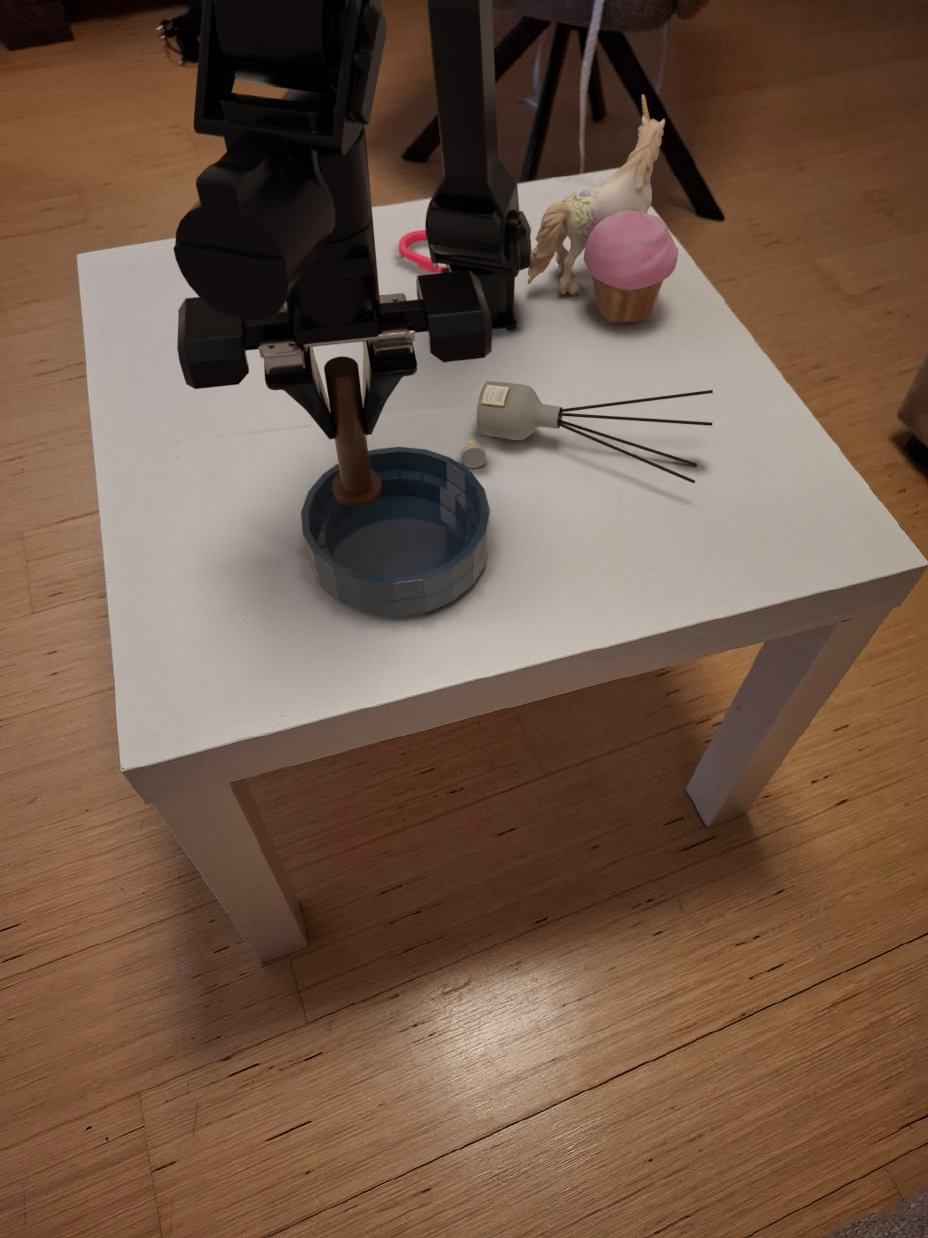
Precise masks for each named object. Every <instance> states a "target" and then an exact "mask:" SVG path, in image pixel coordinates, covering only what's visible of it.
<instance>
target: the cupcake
mask: <svg viewBox="0 0 928 1238" xmlns="http://www.w3.org/2000/svg"><path fill="white" fill-rule="evenodd" d="M583 251H584V253H583V261H584V264H585V266H586V268H587V270H588V273H589V274H590V275H591V278H592V279H591V280H592V286H593V287H592V288H593V294H594V303H595V306H596V307H597V308H598V309H599V310H600V313H601V314H602V316H603V317H604V318H605V319H606V321H607V322H609V323H612V324H625V323H627V324H628V323H636V322H637V323H638V322H643V321H647V320H648V319H649V317H650V316H651V314H652V312H653V310H654V308H655V305H656V303H657V300H658V298H659V294H660V292H661V288H662V285H663V282H664V281H665V280H667V279H668V278H669V277H670V276H671V275H672V274H673V272H674V271H675V269H676V267H677V263H678V259H679V249H678V246H677V244H676V242H675V240H674V239H673V236H672V235H671V233H670V232H669V229H668V226H667V224H666V223H664V221H663V220H662V219H661V218H660V217H658V216H656V215H653V214H649V213H648V214H646V213H642V212H638V211H631V210H626V211H621V212H618V213H616V214H613V215H610V216H608V217H606V218H605V219H603V220H602V221H601V222H599V223H598V224H597V225H596V226H595V228H594V229H593V230H592V232H591V233H590V235H589V237H588V239H587V242H586V246H585V248H584V250H583Z"/></svg>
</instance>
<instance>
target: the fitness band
mask: <svg viewBox="0 0 928 1238" xmlns="http://www.w3.org/2000/svg"><path fill="white" fill-rule="evenodd" d="M421 241H427V237H426V230H425V229H419V230H413V231H410V232H407V233H406V234H404V235H403V236H402V237H401V238H400V239H399V242H398V248H399V252H400V254H401V255H402V256H403V257H402V260H403V261H405V262H407V263H409V264H412V265H414V266H416V267H418V268H421V269H423V270H425V271H428V272H433V273H437V274H438V273H441V269H442V268H446V265H443V266H439V263H438V264H434V263H432V261H431V257H428V256H426V255H422V254H420V253H417V252H415V251H412V250H411V249H410V248H408V246H409V245H411V244H413V243H415V242H421Z"/></svg>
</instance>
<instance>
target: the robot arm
mask: <svg viewBox="0 0 928 1238" xmlns="http://www.w3.org/2000/svg"><path fill="white" fill-rule="evenodd" d="M425 3H426V10H427V12H426V13H427V23H428V31H429V42H430V43H429V44H430V53H431V62H432V71H433V72H432V73H433V81H434V92H435V103H436V112H437V121H438V131H439V132H438V133H439V141H440V153H441V162H442V172H441V175H440V177H439V180H438V182H437V184H436V186H435V189H434V192H433V194H432V196H431V199H430V200H429V203H428V206H427V209H426V214H425V225H424V227H425V228H424V230H426V237H427V240H426V242H427V246H428V247H427V248H428V251H429V256H430V258H431V261H432V263H434V264H438V265H439V264H440V265H445V266H446V268H442V269H441V273H438V272H437V273H430V274H429V273H427V274H420V275H419V274H418V275H416V280H415V284H416V285H415V286H416V297H417V299H410V300H407V298H406V294H405V293H403V292H402V293H401V292H399V293H391V294H380V285H379V275H378V273H379V272H378V262H377V261H378V260H377V250H376V240H375V230H374V228H375V227H374V219H373V218H374V217H373V205H372V192H371V184H370V183H371V182H370V170H369V160H368V159H369V158H368V148H367V136H366V127H365V125H366V126H369V125H370V120H371V115H372V110H373V105H374V99H375V96H376V95H375V94H376V89H377V83H378V80H379V79H378V78H379V74H380V69H381V65H382V58H383V52H384V48H385V44H386V43H385V42H386V37H387V20H386V17H385V15H384V14H383V6H382V1H381V0H202V4H201V5H202V6H201V20H200V31H199V44H198V45H199V46H198V56H197V57H198V58H197V72H196V84H195V97H194V98H195V99H194V109H193V110H194V112H193V129H194V132H195V134H196V135H200V136H207V137H213V138H220V139H224V144H225V149H226V152H225V153H224V154H223V155H222V156H221V157H220V158H219V159H218V160H217V161H215V162H214V163H211V164H209V165H208V166H207V167H206V168H204V169H203V170H202V172H201V173H200V174H199V175H198V176H197V177H196V180H195V188H196V191H197V195H198V200H197V202H196V203H194V205H192V207H191V208H190V209H189V211H187V212H186V214H185V215H184V216H183V217H182V218H181V219H180V220H179V223H178V226H177V228H176V230H175V242H174V246H173V253H174V258H175V261H176V264H177V266H178V269H179V271H180V273H181V275H182V276H183V279H184V280H185V281H186V283H187V284H188V285H189V287H190V289H192V291H194V293H195V294H196V295H197V296H195V297H186V298H185V299H184V300H183V302H182V303H181V305H180V307H179V308H178V315H177V316H178V317H177V319H178V320H177V340H176V341H177V342H176V343H177V346H176V349H177V355H178V361H179V362H178V363H179V365H180V369H181V372H182V375H183V378H184V382H185V384H186V385H187V386H188V387H191V388H193V389H194V390H200V389H201V390H202V389H209V388H218V387H227V386H229V387H230V386H238V385H240V383H242V381H243V380H244V379H245V378H246V377H247V376H248V375H249V373H250V365H249V361H248V357H247V351H255V350H258V352H259V356H260V358H262V359H263V368H264V382H265V385H266V388H268V389H269V390H271V391H284V392H285V393H286V394H287V395H288V396H289V397H290V398H291V399H293V400H294V401H295V402H296V403H297V404H298V405H300V406H301V408H303V409H304V410H305V411H306V412H307V413H308V415H309V416H310V417H311V419H312V420H313V421H314V422H315V424H317V426H318V427H319V429H320V430H321V431H322V432H323V434H324V435H325V436H326V437H327V438H328V440H335V434H334V427H333V421H332V417H331V412H330V405H329V398H328V394H327V392H326V388H325V385H324V381H323V378H322V376H321V373H320V369H319V366H318V362H317V359H316V356H315V352H314V347H322V346H323V347H324V346H333V345H344V344H353V343H360V342H361V343H362V342H363V343H362V349H363V350H362V351H363V352H362V353H363V354H362V355H363V356H362V357H363V358H362V387H361V394H362V403H363V415H364V426H365V434H366V436H371V435H372V434H373V432H374V430H375V427H376V425H377V423H378V421H379V418H380V416H381V414H382V412H383V409H384V408H385V405H386V403H387V401H388V399H389V398H390V397H391V395H392V393H393V392H394V390H395V388H396V387H397V386H398V385H399V383H400V382H401V380H402V379H403V378H404V377H409V376H410V377H411V376H413V375H415V374H416V373H417V372H418V362H417V355H416V352H415V349H414V348H415V347H414V344H413V343H415V342H416V334H417V333H427V335H428V349H429V352H430V354H431V355H432V356H434V357H435V358H437V359H438V360H439V361H440V362H442V363H451V362H459V361H461V362H462V361H468V360H479V359H485V358H486V357H487V356H488V355H490V354H491V353H492V349H493V348H492V347H493V346H492V344H493V330H501V329H505V330H506V331H510V330H516V329H517V328H518V320H517V317H516V314H515V310H514V308H515V307H514V306H515V289H516V287H515V286H516V278H517V277H518V275H519V273H520V271H523V270H525V269H529V266H530V264H531V256H532V255H531V250H532V239H531V234H532V227H531V226H530V223H529V222H528V219H527V217H526V215H525V213H524V211H523V210H520V202H519V188H518V183H517V181H516V179H515V178H514V177H513V176H512V174H511V172H509V170H508V169H507V168H506V166H505V165H504V164H503V163H502V161H501V160H500V158H499V151H498V150H499V149H498V147H499V146H498V123H497V98H496V96H497V94H496V66H495V39H494V12H493V11H494V10H493V0H425ZM236 80H238V81H239V82H240V83H243V84H248V85H256V86H263V87H264V86H265V87H271V88H278V89H286V91H285V92H284V93H282V95H280V96H279V97H278V98H276V97H267V96H260V95H254V94H245V93H240V92H239V93H238V92H233V90H234V86H235V81H236ZM283 305H285V310H286V311H282V312H279V311H280V309H281V308H282V306H283Z"/></svg>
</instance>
